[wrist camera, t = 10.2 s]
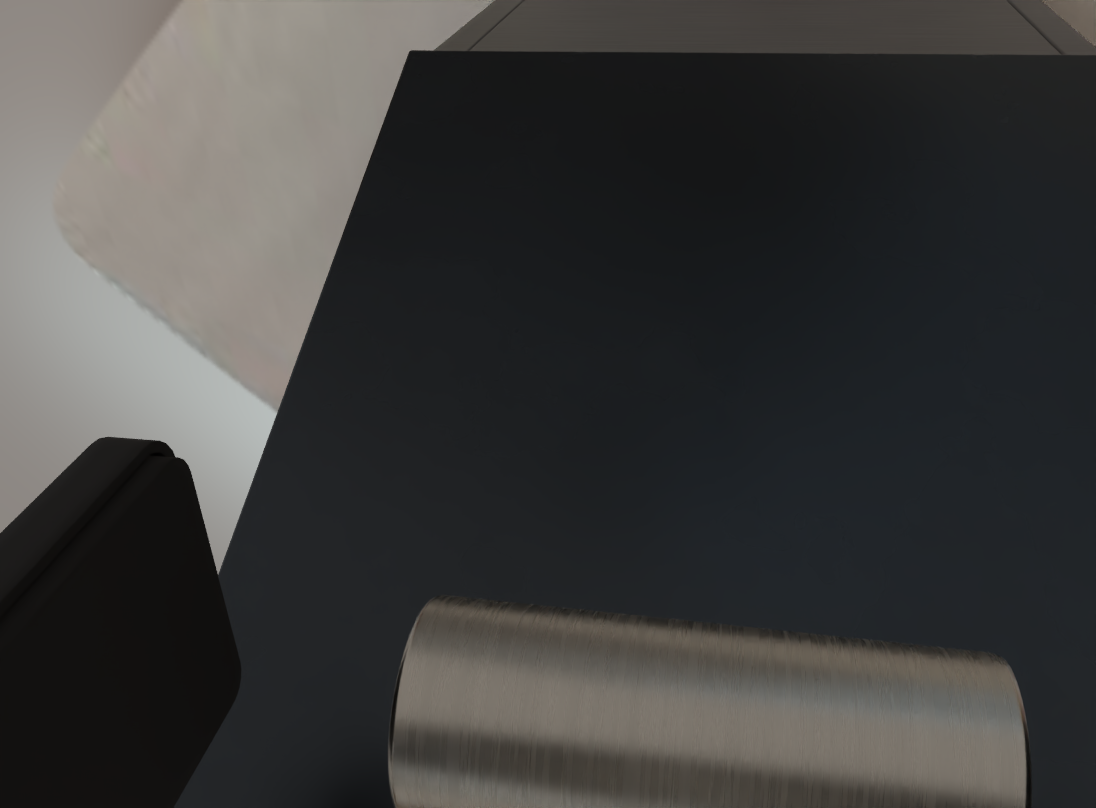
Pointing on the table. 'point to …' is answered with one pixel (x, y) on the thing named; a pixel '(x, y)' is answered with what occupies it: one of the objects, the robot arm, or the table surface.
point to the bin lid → (687, 447)
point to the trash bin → (771, 27)
